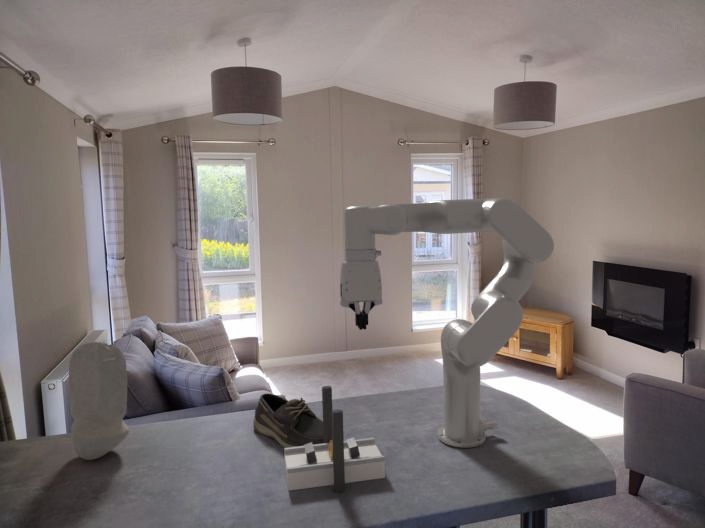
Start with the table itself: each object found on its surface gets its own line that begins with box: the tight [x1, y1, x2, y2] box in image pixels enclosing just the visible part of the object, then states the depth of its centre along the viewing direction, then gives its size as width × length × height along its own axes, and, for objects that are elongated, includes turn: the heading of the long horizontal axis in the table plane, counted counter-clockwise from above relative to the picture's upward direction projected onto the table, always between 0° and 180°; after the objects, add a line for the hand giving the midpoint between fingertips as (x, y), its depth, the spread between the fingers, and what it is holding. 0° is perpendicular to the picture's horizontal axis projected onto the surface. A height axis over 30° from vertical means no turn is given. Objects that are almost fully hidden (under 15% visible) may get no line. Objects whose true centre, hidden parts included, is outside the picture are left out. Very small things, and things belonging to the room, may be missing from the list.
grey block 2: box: [345, 436, 360, 458], centre depth 119 cm, size 2×4×2 cm, turn 11°
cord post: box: [332, 409, 346, 494], centre depth 111 cm, size 2×2×18 cm
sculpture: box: [68, 341, 130, 461], centre depth 128 cm, size 15×12×30 cm
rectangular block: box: [328, 440, 333, 459], centre depth 119 cm, size 2×4×2 cm, turn 12°
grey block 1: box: [304, 442, 317, 463], centre depth 117 cm, size 2×4×2 cm, turn 11°
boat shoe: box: [252, 393, 324, 449], centre depth 137 cm, size 11×29×11 cm, turn 52°
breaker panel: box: [283, 437, 386, 491], centre depth 119 cm, size 22×10×5 cm, turn 102°
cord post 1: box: [321, 385, 333, 443], centre depth 125 cm, size 2×2×18 cm
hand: (361, 328), depth 129 cm, fingers closed
